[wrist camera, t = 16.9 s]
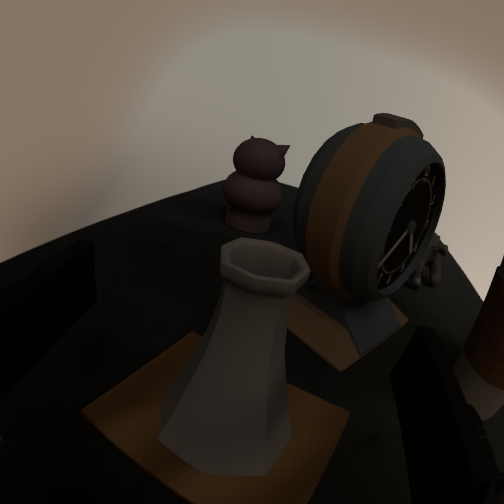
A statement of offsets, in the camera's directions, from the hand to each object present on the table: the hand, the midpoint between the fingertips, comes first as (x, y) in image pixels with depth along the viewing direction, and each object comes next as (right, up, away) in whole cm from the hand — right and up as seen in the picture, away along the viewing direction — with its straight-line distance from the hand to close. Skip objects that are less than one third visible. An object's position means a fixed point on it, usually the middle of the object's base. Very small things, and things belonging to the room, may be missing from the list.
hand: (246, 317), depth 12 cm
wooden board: (-1, -7, +4) cm, 8 cm away
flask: (-1, -7, +4) cm, 8 cm away
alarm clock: (+8, -3, +16) cm, 19 cm away
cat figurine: (-1, +6, +33) cm, 33 cm away
